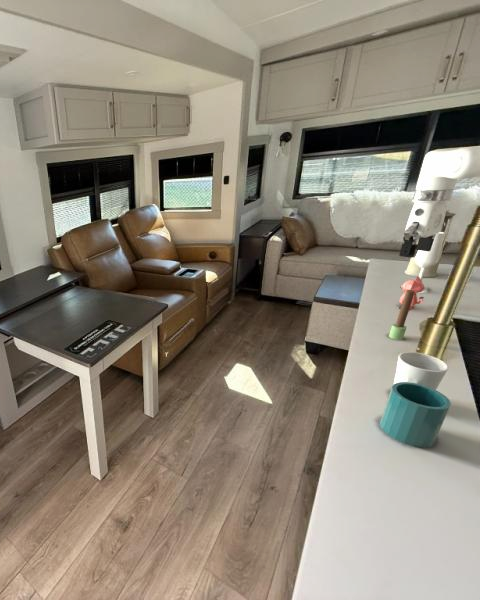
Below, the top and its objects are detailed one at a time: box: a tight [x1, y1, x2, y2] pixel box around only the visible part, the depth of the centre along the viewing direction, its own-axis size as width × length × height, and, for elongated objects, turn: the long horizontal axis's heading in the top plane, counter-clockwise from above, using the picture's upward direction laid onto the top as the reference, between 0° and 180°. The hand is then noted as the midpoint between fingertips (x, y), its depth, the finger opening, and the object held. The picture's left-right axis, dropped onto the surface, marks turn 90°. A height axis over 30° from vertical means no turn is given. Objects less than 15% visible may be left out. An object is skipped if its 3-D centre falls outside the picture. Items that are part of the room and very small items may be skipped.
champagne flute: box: [414, 232, 445, 294], centre depth 126 cm, size 7×7×24 cm
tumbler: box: [379, 382, 452, 448], centre depth 67 cm, size 8×8×11 cm
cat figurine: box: [398, 276, 426, 311], centre depth 116 cm, size 7×7×12 cm
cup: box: [392, 351, 449, 391], centre depth 75 cm, size 8×8×12 cm
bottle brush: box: [388, 290, 415, 341], centre depth 98 cm, size 3×3×17 cm
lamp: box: [404, 207, 456, 278], centre depth 138 cm, size 10×13×30 cm
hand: (414, 253), depth 97 cm, fingers open, 9 cm apart
